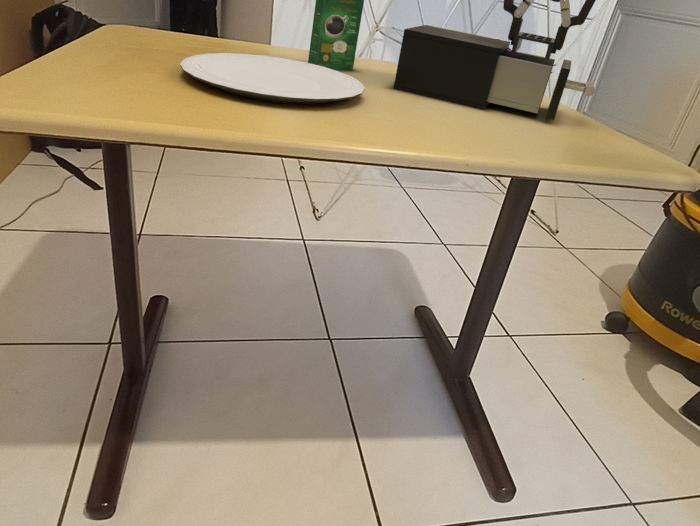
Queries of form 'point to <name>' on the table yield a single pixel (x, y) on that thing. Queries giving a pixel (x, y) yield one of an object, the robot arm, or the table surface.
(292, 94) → the plate
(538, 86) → the grey box with handle
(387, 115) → the table surface
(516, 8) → the robot arm
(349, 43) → the coffee box
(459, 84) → the black drawer box
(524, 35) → the box
